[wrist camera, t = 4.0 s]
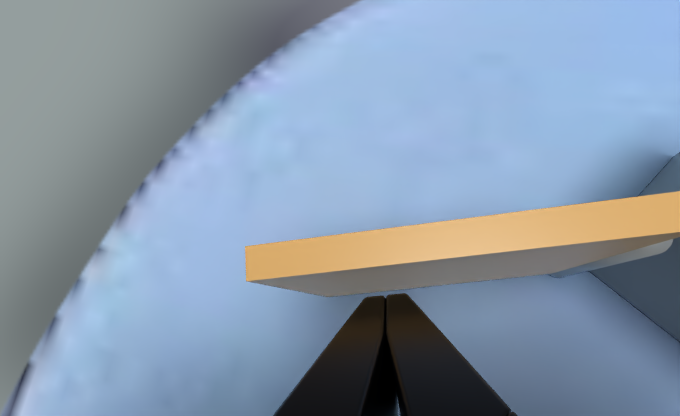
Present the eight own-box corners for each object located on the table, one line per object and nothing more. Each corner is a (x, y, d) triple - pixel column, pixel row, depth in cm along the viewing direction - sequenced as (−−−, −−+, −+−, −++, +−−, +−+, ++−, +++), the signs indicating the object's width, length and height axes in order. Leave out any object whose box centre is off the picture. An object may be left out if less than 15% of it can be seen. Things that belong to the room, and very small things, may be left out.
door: (568, 249, 15) (750, 173, 7) (574, 276, 15) (772, 230, 7) (328, 275, 16) (244, 239, 8) (330, 301, 16) (246, 289, 8)
